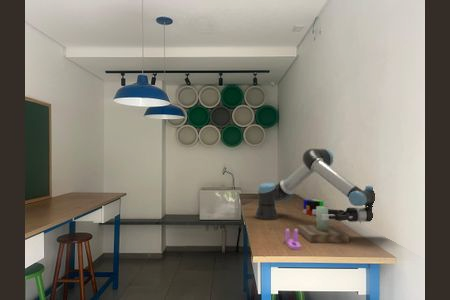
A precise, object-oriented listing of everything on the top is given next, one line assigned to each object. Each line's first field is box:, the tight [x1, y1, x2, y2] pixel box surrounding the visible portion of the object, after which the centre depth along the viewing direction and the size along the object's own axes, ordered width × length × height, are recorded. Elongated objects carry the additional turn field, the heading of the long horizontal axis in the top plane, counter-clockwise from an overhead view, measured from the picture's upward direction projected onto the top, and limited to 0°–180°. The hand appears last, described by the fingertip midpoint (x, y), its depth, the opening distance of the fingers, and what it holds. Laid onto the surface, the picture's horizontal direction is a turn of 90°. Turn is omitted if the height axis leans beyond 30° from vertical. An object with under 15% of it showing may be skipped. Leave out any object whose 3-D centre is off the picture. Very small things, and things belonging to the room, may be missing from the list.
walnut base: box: [297, 224, 350, 243], centre depth 163 cm, size 20×20×4 cm
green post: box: [315, 205, 329, 231], centre depth 163 cm, size 6×6×12 cm
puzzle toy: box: [302, 198, 324, 216], centre depth 227 cm, size 10×10×10 cm
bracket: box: [284, 228, 302, 250], centre depth 148 cm, size 13×6×7 cm, turn 179°
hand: (317, 214), depth 163 cm, fingers open, 13 cm apart
